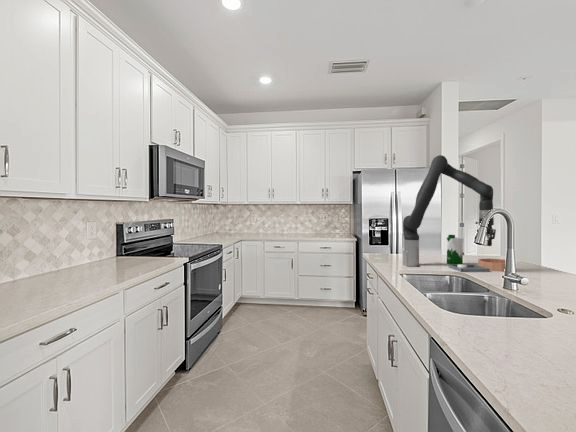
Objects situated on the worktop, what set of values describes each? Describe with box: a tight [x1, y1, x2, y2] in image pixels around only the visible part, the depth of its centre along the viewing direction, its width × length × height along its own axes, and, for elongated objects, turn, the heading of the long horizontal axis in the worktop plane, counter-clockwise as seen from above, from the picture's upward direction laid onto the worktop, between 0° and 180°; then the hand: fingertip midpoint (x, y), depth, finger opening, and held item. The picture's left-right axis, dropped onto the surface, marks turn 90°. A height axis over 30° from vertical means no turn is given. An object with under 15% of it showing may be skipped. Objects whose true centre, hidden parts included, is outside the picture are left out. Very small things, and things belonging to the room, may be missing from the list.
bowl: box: [477, 258, 506, 273], centre depth 191 cm, size 18×18×6 cm
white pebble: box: [456, 263, 467, 269], centre depth 189 cm, size 5×5×3 cm
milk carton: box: [445, 234, 464, 265], centre depth 209 cm, size 9×9×20 cm
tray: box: [448, 263, 491, 273], centre depth 189 cm, size 16×14×2 cm
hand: (486, 245), depth 190 cm, fingers closed on sandstone pebble, 5 cm apart
